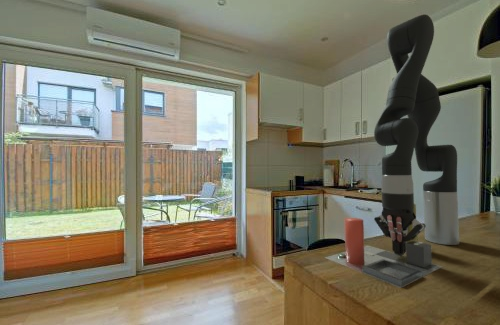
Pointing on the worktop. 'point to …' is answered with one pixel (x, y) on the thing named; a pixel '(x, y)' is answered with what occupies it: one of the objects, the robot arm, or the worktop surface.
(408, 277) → the panel
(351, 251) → the red tapered cylinder
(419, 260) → the breaker
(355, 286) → the worktop surface
